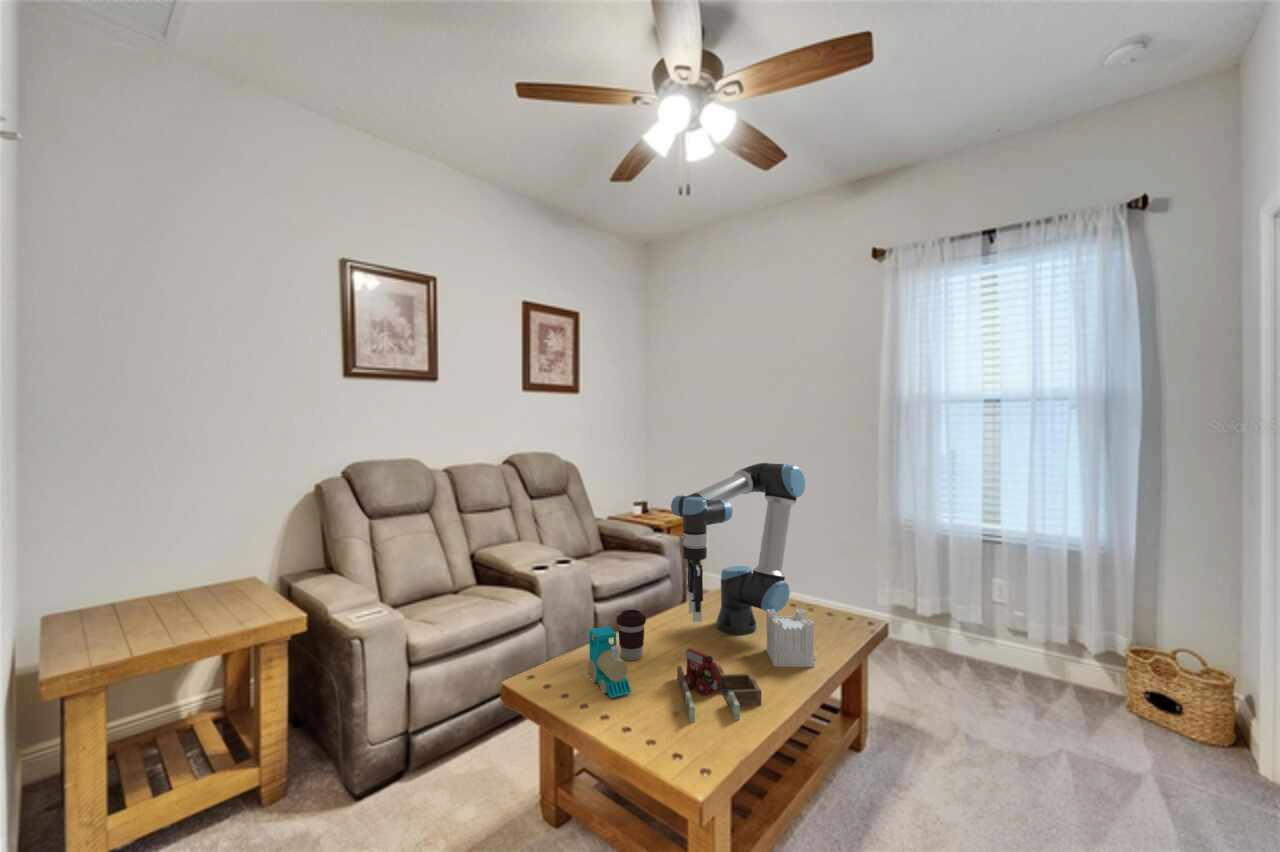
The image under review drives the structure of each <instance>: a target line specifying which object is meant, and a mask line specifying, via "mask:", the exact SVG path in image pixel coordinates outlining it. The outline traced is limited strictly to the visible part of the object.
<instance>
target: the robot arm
mask: <svg viewBox="0 0 1280 852" xmlns="http://www.w3.org/2000/svg"><path fill="white" fill-rule="evenodd" d="M805 487H806V479H805V475H804V474H803V471H802V469H801V468H800V467H798V466H797V465H794V464H788V463H787V464H786V463H768V462H760V463H759V462H758V463H756V464H752V465H749V466H747V467H743V468H741V469H739V470H737V471H736V472H734V474H733V475H732V476H730V477H727V478H726V479H723V480H721V481H719V482H717V483H714V484H711V485H709V486H707V487H705V488H703V489H700V490H698V491H696V492H694V493H691V494H688V495H676V496H675V497H673V498H672V500H671V502H670V504H671V505H670V509H671V513H672V514H673V515H674V516H675V517H679V518H682V529H683V530H682V532H683V533H682V534H683V535H681V536H680V537H681V539H683V540H682V541H683V542H682V544H683V547H682V554H683V555H682V556H683V559H686V560H687V589H688V613H689V614H692V622H693V623H699V622H700V623H701V622H702V619H703V617H702V615H703V613H702V612H703V610H702V608H703V607H702V605H703V604H702V602H704V592H703V591H704V590H703V587H704V586H703V581H704V580H703V575H704V574H703V572H704V571H703V566H702V565H703V564H701V561H702V560H706V559H707V553H708V552H707V541H708V540H707V538H708V537H707V536H708V533H707V526H709V525H716V524H723V523H725V522H728V521H729V520H731V518H732V517H733V506H732V504H731V503H730V502H729V500H731V499H733V498H735V497H738V496H740V495H749V494H751V493H763V494H764V498H765V499H766V501H767V507H766V510H765V511H766V512H765V517H764V518H765V519H764V526H763V531H762V532H763V533H762V539H761V544H760V545H761V546H760V551H759V558H758V565H757V566H756V567H754V568H753V570H752V568H751V567H750V566H748V565H747V566H746V565H734V566H728V567H725V568H723V569H722V570H721V573H720V601H721V603H720V604H721V605H720V609H719V613H718V615H717V617H716V627H717V629H718V630H719V631H721V632H723V633H727V634H730V635H747V634H751V633H755V632H756V630H757V620H756V617H755V614H754V611H753V608H757V609H760V610H762V611H764V612H767V609H770V611H771V609H774V610H775V612H776V613H779V612H781V611H782V610H783V609H784V607H786V605H787V603H788V601H789V599H790V593H791V590H790V586H789V584H788V583H787V582H786V581H785V579H786V575H785V574H784V572H783V565H784V556H785V550H786V549H785V548H786V544H787V543H786V542H787V536H788V530H789V523H790V516H791V510H792V506H794V504H796V503H797V498H799V497H801V496H803V493H804V492H805V489H806V488H805Z"/></svg>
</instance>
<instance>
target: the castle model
mask: <svg viewBox="0 0 1280 852" xmlns="http://www.w3.org/2000/svg"><path fill="white" fill-rule="evenodd" d="M776 613H777V612H775V610H774V609H771V611H770V609H767V611H766V646H765V649H766V652H767V654H768V657H769V659H770V661H771V663H772V665H773V667H774V668H776V667H777V668H815V661H816V660H817V656H815V654H814V653H815V651H814V649H815V648H814V643H815V642H814V640H815V639H814V634H815V632H814V630H815V629H814V627H815V626H814V625H815V624H814V622H813V620H812V619H808V620H807V619H806V611H805V610H804V609H803V608H800V609H797V608H795V615H794V616H793V615H789V616H787V615H784V617H783V615H779V617H778V615H777V614H776Z"/></svg>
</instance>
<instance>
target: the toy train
mask: <svg viewBox="0 0 1280 852" xmlns="http://www.w3.org/2000/svg"><path fill="white" fill-rule="evenodd" d="M588 630H589V633H588V634H589V639H588V640H589V641H588V642H589V661H588V663H587V672H588V676H589V679H590V680H591V679H592V681H593V682H592V681H591V682H592V683H596V682H597V684H598V685H599V688H600V691H603V693H604V694H603V695H606V694H607V695H608V696H609V697H610V698H611V699H613V698H617V697H621V696H623V695H627V694H631V693H632V691H631V686H630V684H629V680H628V677H627V676H626V675H627V674H628V665H627V663H626V662H625V660H624V659H623V658H622V657H621V656H619V655H620V651H619V650H620V646H618V645H617V632H616V631H615V629H614V630H613V629H612V627H610V626H609V625H606V626H600V627H595V628H590V629H588ZM593 637H594V638H595V639H593ZM612 638H613V643H610V639H612Z"/></svg>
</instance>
